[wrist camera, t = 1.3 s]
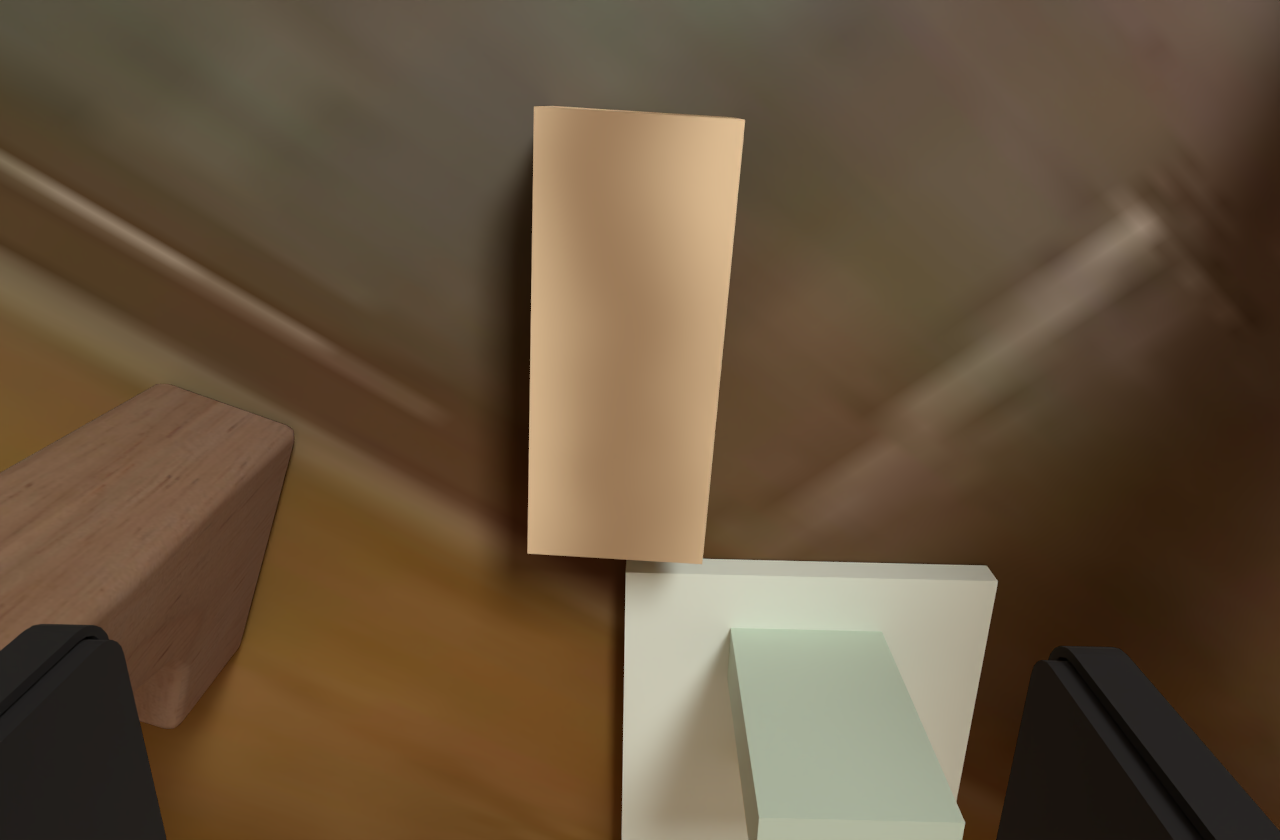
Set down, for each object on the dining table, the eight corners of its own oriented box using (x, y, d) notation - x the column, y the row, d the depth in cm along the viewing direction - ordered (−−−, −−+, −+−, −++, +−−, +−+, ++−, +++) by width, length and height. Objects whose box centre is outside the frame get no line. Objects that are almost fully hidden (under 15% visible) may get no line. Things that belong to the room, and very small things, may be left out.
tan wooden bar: (731, 117, 24) (745, 119, 20) (696, 502, 28) (702, 564, 24) (553, 105, 24) (533, 106, 20) (544, 493, 28) (527, 553, 24)
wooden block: (242, 648, 30) (-285, 1349, 13) (113, 607, 29) (-607, 1283, 13) (302, 425, 27) (-282, 961, 10) (160, 375, 26) (-701, 852, 10)
